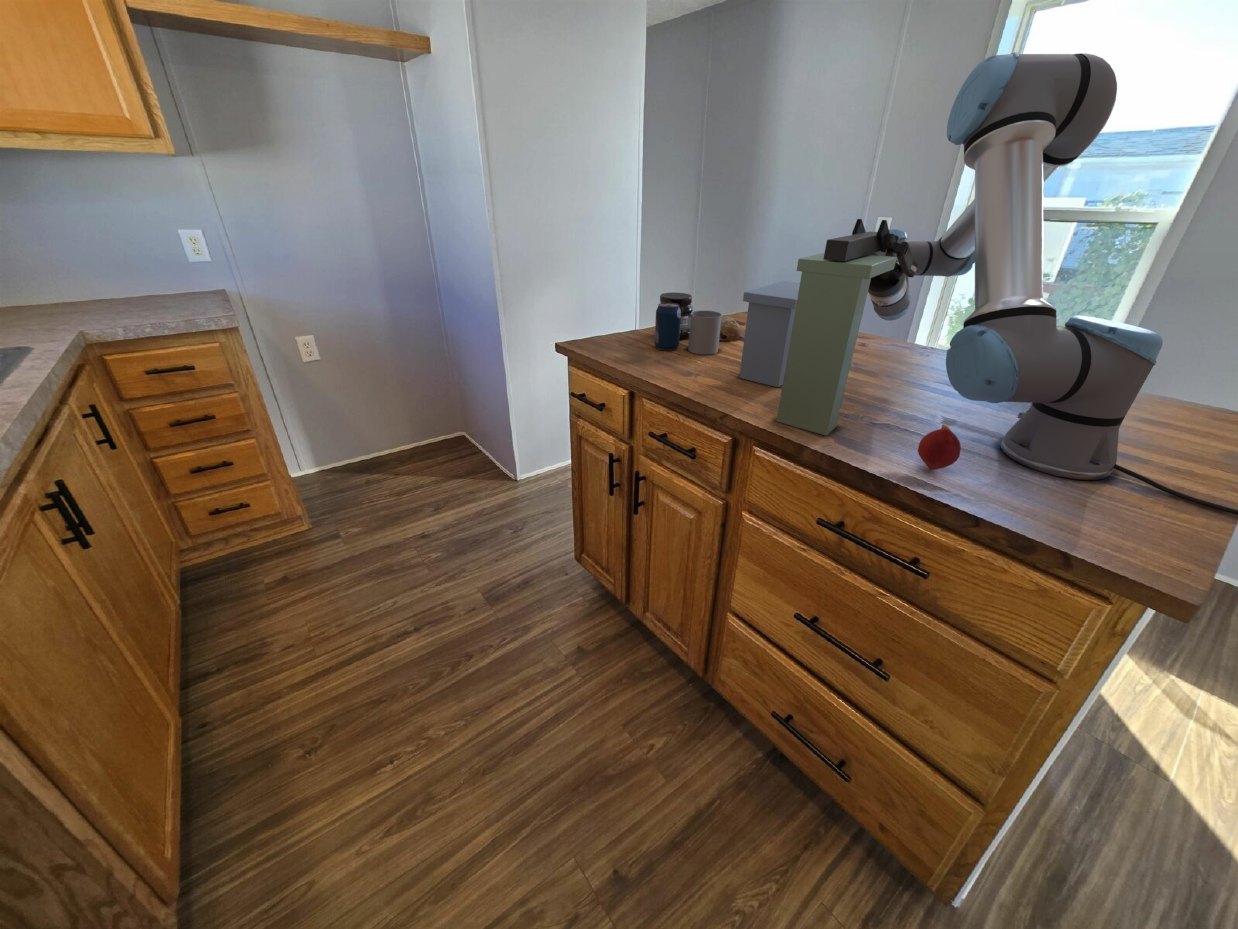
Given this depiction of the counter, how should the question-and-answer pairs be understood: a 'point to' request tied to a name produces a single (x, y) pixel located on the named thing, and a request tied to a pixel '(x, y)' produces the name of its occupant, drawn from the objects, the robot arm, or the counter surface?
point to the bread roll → (729, 329)
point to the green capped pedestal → (825, 338)
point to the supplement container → (685, 307)
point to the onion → (939, 448)
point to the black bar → (851, 246)
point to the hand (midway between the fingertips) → (869, 226)
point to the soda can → (667, 326)
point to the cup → (704, 332)
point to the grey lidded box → (768, 332)
